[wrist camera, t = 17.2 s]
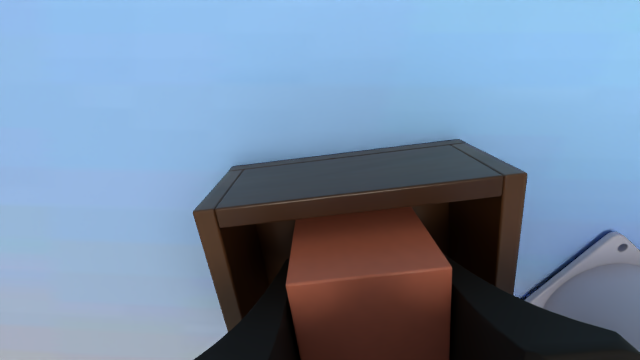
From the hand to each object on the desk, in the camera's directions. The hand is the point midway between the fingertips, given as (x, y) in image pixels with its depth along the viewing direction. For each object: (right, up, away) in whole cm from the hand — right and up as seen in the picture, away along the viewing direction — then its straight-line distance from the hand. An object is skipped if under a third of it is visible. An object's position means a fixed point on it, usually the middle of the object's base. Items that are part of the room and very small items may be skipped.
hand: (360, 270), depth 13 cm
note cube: (0, 0, +1) cm, 1 cm away
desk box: (0, 0, +4) cm, 4 cm away
